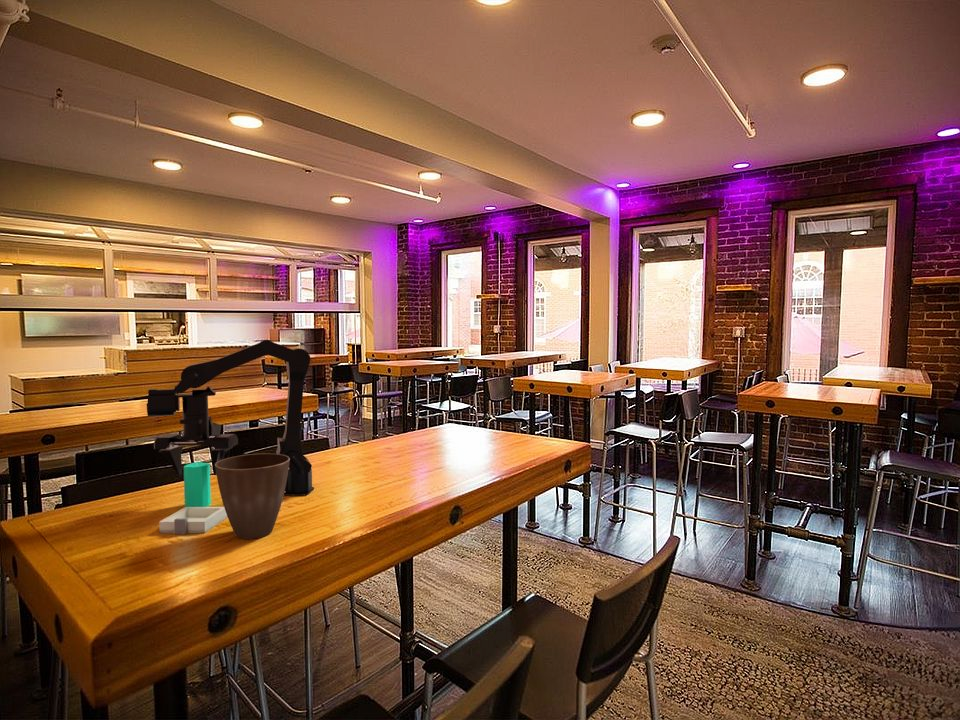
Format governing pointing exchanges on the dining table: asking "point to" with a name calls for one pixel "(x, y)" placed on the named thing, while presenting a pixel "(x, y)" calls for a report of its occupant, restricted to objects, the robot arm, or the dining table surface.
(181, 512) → the white square tray
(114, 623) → the dining table surface
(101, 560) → the dining table surface
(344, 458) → the dining table surface
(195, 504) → the candle
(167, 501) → the dining table surface
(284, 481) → the plant pot
